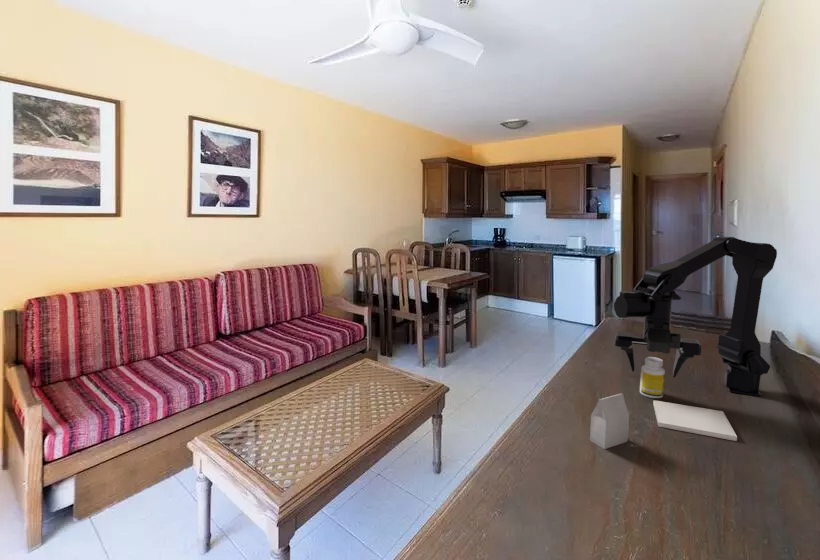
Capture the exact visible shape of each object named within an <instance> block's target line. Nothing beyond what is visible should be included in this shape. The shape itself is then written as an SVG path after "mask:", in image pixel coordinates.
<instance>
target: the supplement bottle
mask: <svg viewBox="0 0 820 560" xmlns="http://www.w3.org/2000/svg"><path fill="white" fill-rule="evenodd" d="M663 365H664V360H663V359H661V358H659V357H655V356H646V357H645V358H644V365H642V366H641V369H640V379H639V393H640V394H641V395H642V396H644V397H647V398H650V399H661V398H663V397H664V390H665V377H666V371H665V368H663Z"/></svg>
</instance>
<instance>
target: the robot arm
mask: <svg viewBox="0 0 820 560" xmlns="http://www.w3.org/2000/svg"><path fill="white" fill-rule="evenodd" d="M777 255H778V250H777V248H775V247H774V246H773V244H770V243H766V242H765V243H764V242H751V241H747V240H744V239H743V240H742V239H739V238H737V237H734V236H717V237H714V238H713V239H711V241H709V242H707V243H705V244H703V245H702V246H700V247H698V248H697V249H696V248H695V250H692V251H691V252H689V253H688V254H685V255H683V256H682V257H679V258H678V259H676V260H673V261H670V262H663V263H660V264H658V265H657V264H656V265H654V266H651V267H649V268H647V269H646V270H645V271H644V272H643V276H642V277H641V279H640V280H639V281H638V282H637V284H636V286H634V288H633V289H632V291H626V290H621V291H619V296H617V297H616V298H615V301H614V303H613V310H614V313H615V315H616V317H618V318H619V319H634V318H635V319H636V318H643V319H644V320H643V321H644V322H643V335H642V337H640V336H633V333H632V332H629V331H617V332H615V334H614V346H615V347H617V348H618V347H619V348H620V350H622V351H624V352H625V353H626V356H627V358H628V360H629V365H630V367H631V372H632V373H634V372H635V358H634V357H635V355H634V347H633V345H639V346H640V345H642V346H646V350H647V351H648V352H650V353H655V352H656V353H662V354H670V352H671V349H675V350H676V351H675V357H674V362H673V367H672V378H676V376H677V375H678V373H679V372H680V369H681V367H682V366H683V364H684V363H685V362H686V361H687V360H688V359H692V358H694V357H695V356H702V345H701V343H700V342H699V341H698V340H697V339H696V338H689V337H683V336H682V335H681V333H674V332H671V330H670V329H671V320H672V306H673V301H679V300H681V299H682V297H681V296H680V295H679V294H678V293H676V291H675V290H676V289H678V288H679V287H681V286H682V285H684V283H685V281H686V280H687V278H688V277H689V276H690V275H692V274H694V273H696V272H697V271H699V270H701V269H703V268H705V267H707V266H710V264H712V263H715V262H716V261H718V260H720V259H721V258H723V257H724V258H725V256H727V257H730V258H731V259H732V264H731V265H732V267H733V269H734V271H735V274H736V275H737V280H736V281H737V282H736V288H735V294H734V300H733V302H734V303H733V309H732V315H731V321H730V328H729V330H728V331H726V333H725V334H721V333H720V334H719V335H718V343H717V346H716V349H718V354H719V355H720V356H721V360H722V361H721V362H722V363H723V364H727V369H724V374H723V375H724V377H723V378H724V379H723V385H724V386H725V388H727V390H728V392H731V393H736V394H742V395H751V396H756V397H761V395H762V393H761V392H760V384H761V376H763V375H765V374H768V372H769V370H770V369H771V365H770V364H769V363H768V361H766V359H764V358H763V356H761V355H762V354H761V352H762V351H761V346H762V345H761V342H760V341H759V339H758V336H757V335H756V327H757V320H758V314H759V307H760V302H761V296H762V295H761V294H762V288H763V283H764V279H765V277H766V276H767V275H768V274H769V273H770V272H771V271H772V270H773V269H774V266H775V262H776V260H777Z"/></svg>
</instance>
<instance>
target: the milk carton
mask: <svg viewBox="0 0 820 560" xmlns="http://www.w3.org/2000/svg"><path fill="white" fill-rule="evenodd" d="M625 400H626V399H625V397H624V393H622V392H621V393H617V394H614V395H610V396H609V395H608V396H607V397H603V398H598V400H597V403H596V406H595V407H594V409H593V411H592V413H591V414H590V430H589V431H590V433H589V441H590V442H592V443H593V444H595V445H597V446H598V447H600V448H602V449H603V450H606V449H609V448H611V447H612V448H613V447H615V446H619V445H621V444H625V443H627V442H628V439H629V425H630V414H629V409H628V408H627V405H626V401H625Z"/></svg>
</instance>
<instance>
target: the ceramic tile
mask: <svg viewBox="0 0 820 560" xmlns="http://www.w3.org/2000/svg"><path fill="white" fill-rule="evenodd" d="M652 405H653V410H654V413H655V419H656V422H657V426H658V427H660V428H664V429H665V428H666V429H670V430H676V431H679V432H680V431H681V432H686V433H692V434H697V435H703V436H708V437H713V438H718V439H724V440H728V441H729V440H730V441H733V442H735V441H736V442H737V440H738V436H737V434H736V432H735V430H734V429H733V426H732V425H731V423H730V422H729V420H728V418H727V416H726V414H725V412H724V411H722V410H716V409H710V408H704V407H697V406H691V405H687V404H686V405H685V404H678V403H672V402H669V401H668V402H667V401H666V402H665V401H661V400H653V403H652Z"/></svg>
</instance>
